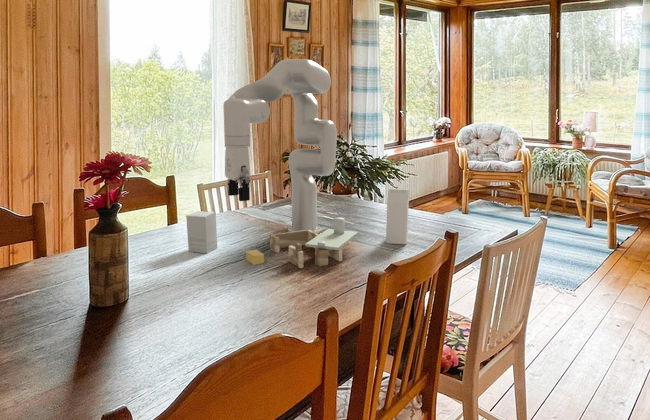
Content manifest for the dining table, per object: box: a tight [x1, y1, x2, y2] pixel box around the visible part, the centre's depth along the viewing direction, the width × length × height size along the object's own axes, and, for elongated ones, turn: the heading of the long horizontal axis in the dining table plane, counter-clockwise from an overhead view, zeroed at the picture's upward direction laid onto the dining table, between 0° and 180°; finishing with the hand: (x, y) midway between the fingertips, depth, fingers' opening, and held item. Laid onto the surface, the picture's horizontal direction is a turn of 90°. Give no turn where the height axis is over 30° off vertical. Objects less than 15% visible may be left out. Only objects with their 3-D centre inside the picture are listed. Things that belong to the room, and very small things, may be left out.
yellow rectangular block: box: [245, 249, 265, 265], centre depth 175 cm, size 6×4×3 cm, turn 31°
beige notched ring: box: [269, 229, 343, 269], centre depth 181 cm, size 25×15×7 cm, turn 29°
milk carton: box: [385, 188, 410, 245], centre depth 195 cm, size 7×7×19 cm
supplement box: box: [185, 210, 218, 254], centre depth 186 cm, size 7×7×13 cm
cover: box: [304, 217, 359, 250], centre depth 179 cm, size 21×11×6 cm, turn 158°
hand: (238, 197), depth 168 cm, fingers open, 9 cm apart
